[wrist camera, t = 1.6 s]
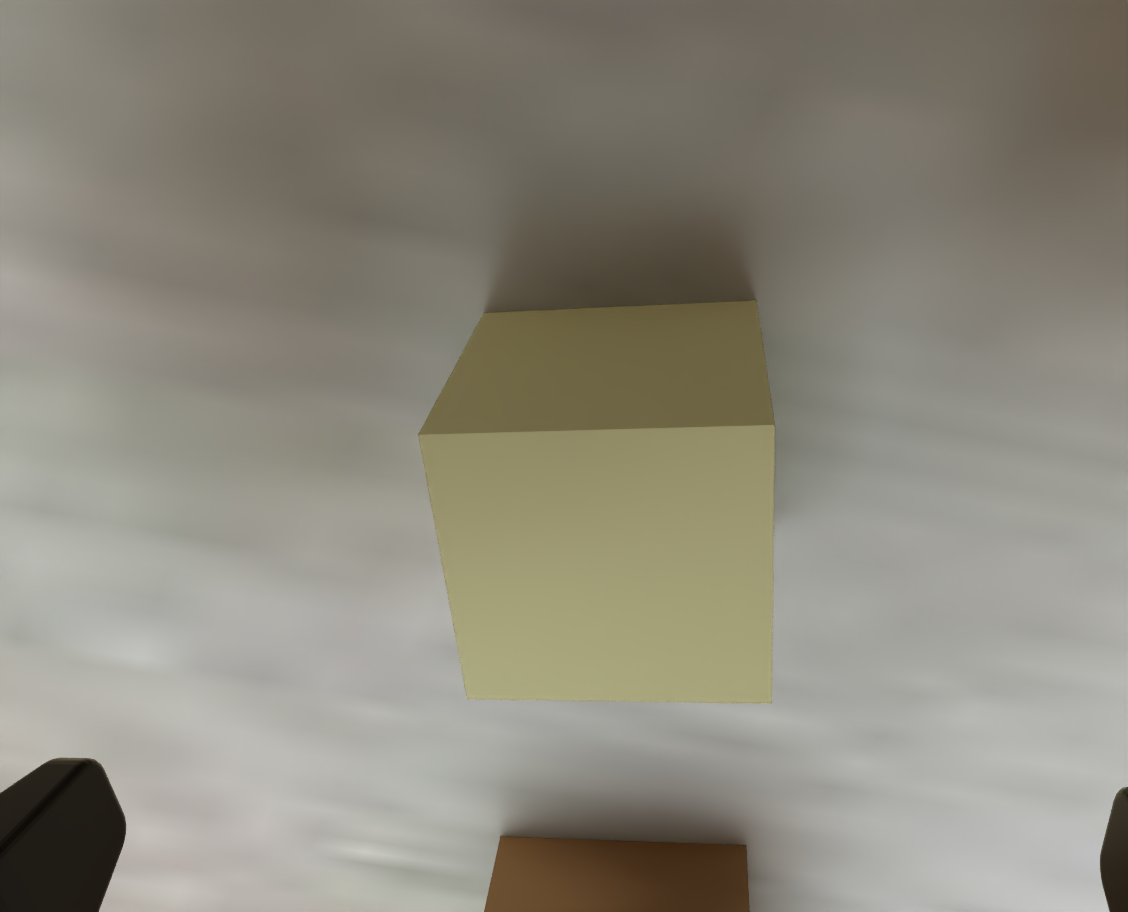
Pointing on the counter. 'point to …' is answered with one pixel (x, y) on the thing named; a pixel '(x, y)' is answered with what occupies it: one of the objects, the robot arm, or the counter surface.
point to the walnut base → (617, 876)
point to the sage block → (609, 504)
